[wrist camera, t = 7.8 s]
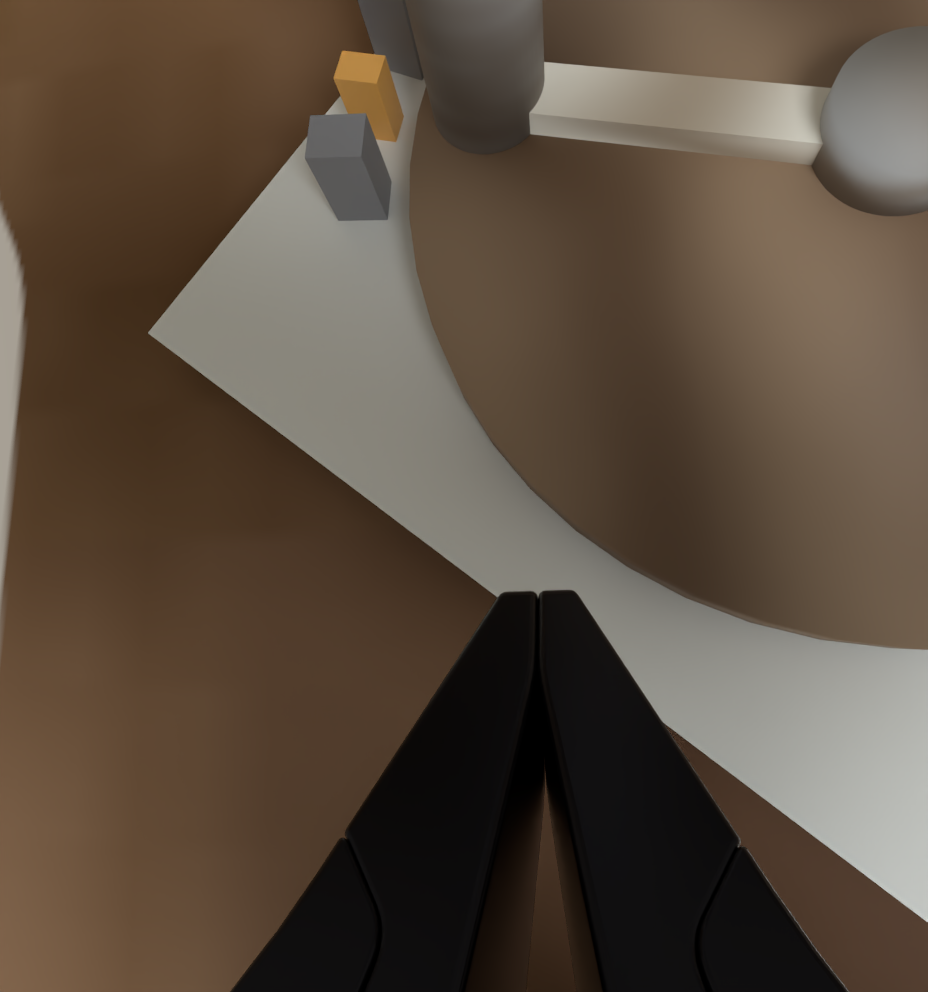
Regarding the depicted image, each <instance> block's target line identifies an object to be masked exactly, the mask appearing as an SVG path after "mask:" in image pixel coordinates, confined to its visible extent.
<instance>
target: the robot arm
mask: <svg viewBox="0 0 928 992" xmlns="http://www.w3.org/2000/svg"><path fill="white" fill-rule="evenodd" d="M545 772H546V785H547V794H548V803H549V811H550V817H551V824H552V831H553V838H554V844H555V851H556V858H557V864H558V871H559V878H560V884H561V891H562V898H563V904H564V911H565V918H566V924H567V931H568V938H569V945H570V951H571V958H572V965H573V971H574V978H575V985H576V991H577V992H849V991H848V989H847V988H846V987H845V986H844V984H843V983H842V982H841V980H840V979H839V978H838V977H837V975H836V974H835V973H834V971H833V970H832V969H831V968H830V966H829V965H828V964H827V962H826V961H825V960H824V959H823V957H822V956H821V955H820V953H819V952H818V951H817V949H816V948H815V946H814V945H813V944H812V942H811V941H810V939H809V938H808V936H807V935H806V934H805V932H804V931H803V929H802V928H801V927H800V925H799V924H798V922H797V921H796V919H795V918H794V917H793V915H792V914H791V912H790V911H789V910H788V908H787V907H786V905H785V904H784V902H783V901H782V900H781V898H780V897H779V895H778V894H777V892H776V891H775V890H774V888H773V887H772V885H771V884H770V882H769V881H768V879H767V878H766V876H765V875H764V873H763V872H762V870H761V869H760V867H759V866H758V864H757V863H756V861H755V860H754V858H753V857H752V855H751V854H750V852H749V851H748V849H747V848H745V847H740V843H741V840H740V838H739V836H738V835H737V833H736V832H735V830H734V829H733V827H732V826H731V824H730V823H729V821H728V820H727V818H726V817H725V815H724V814H723V812H722V811H721V809H720V808H719V806H718V805H717V803H716V802H715V800H714V799H713V797H712V796H711V794H710V793H709V791H708V790H707V788H706V787H705V785H704V784H703V782H702V780H701V779H700V777H699V776H698V774H697V773H696V771H695V770H694V768H693V767H692V765H691V764H690V762H689V761H688V759H687V758H686V756H685V755H684V753H683V752H682V750H681V749H680V747H679V746H678V744H677V743H676V741H675V740H674V738H673V737H672V735H671V734H670V732H669V731H668V729H667V728H666V726H665V725H664V723H663V722H662V720H661V719H660V717H659V716H658V714H657V713H656V711H655V710H654V708H653V707H652V705H651V704H650V702H649V701H648V699H647V698H646V696H645V695H644V693H643V692H642V690H641V689H640V687H639V686H638V684H637V683H636V681H635V680H634V678H633V677H632V675H631V674H630V672H629V671H628V669H627V668H626V666H625V665H624V663H623V661H622V660H621V658H620V657H619V655H618V654H617V652H616V651H615V649H614V648H613V646H612V645H611V643H610V642H609V640H608V639H607V637H606V636H605V634H604V633H603V631H602V630H601V628H600V627H599V625H598V624H597V622H596V621H595V619H594V618H593V616H592V615H591V613H590V612H589V610H588V609H587V607H586V606H585V604H584V603H583V601H582V600H581V598H580V597H579V595H578V594H577V593H576V592H575V591H573V590H545V591H542V592H540V594H539V596H537V594H536V593H535V592H534V591H506V592H503V593H501V594H500V595H499V596H498V598H497V599H496V601H495V602H494V604H493V605H492V607H491V608H490V610H489V611H488V613H487V614H486V616H485V617H484V619H483V620H482V622H481V624H480V625H479V627H478V628H477V630H476V631H475V633H474V634H473V636H472V637H471V639H470V640H469V642H468V643H467V645H466V647H465V648H464V650H463V651H462V653H461V654H460V656H459V657H458V659H457V660H456V662H455V663H454V665H453V666H452V668H451V669H450V671H449V673H448V674H447V676H446V677H445V679H444V680H443V682H442V683H441V685H440V686H439V688H438V689H437V691H436V692H435V694H434V695H433V697H432V699H431V700H430V702H429V703H428V705H427V706H426V708H425V709H424V711H423V712H422V714H421V715H420V717H419V718H418V720H417V721H416V723H415V725H414V726H413V728H412V729H411V731H410V732H409V734H408V735H407V737H406V738H405V740H404V741H403V743H402V744H401V746H400V748H399V749H398V751H397V752H396V754H395V755H394V757H393V758H392V760H391V761H390V763H389V764H388V766H387V767H386V769H385V770H384V772H383V774H382V775H381V777H380V778H379V780H378V781H377V783H376V784H375V786H374V787H373V789H372V790H371V792H370V793H369V795H368V796H367V798H366V800H365V801H364V803H363V804H362V806H361V807H360V809H359V810H358V812H357V813H356V815H355V816H354V818H353V819H352V821H351V823H350V824H349V826H348V827H347V829H346V830H345V836H346V839H345V838H341V839H339V840H338V842H337V843H336V845H335V846H334V848H333V849H332V851H331V852H330V854H329V856H328V857H327V859H326V860H325V862H324V863H323V865H322V866H321V868H320V869H319V871H318V872H317V874H316V876H315V877H314V878H313V880H312V881H311V883H310V884H309V886H308V887H307V889H306V890H305V891H304V893H303V894H302V896H301V897H300V899H299V900H298V901H297V903H296V904H295V906H294V907H293V909H292V910H291V912H290V913H289V914H288V916H287V917H286V919H285V920H284V922H283V923H282V925H281V926H280V927H279V929H278V930H277V932H276V933H275V934H274V936H273V937H272V938H271V939H270V941H269V942H268V943H267V945H266V946H265V947H264V948H263V950H262V951H261V952H260V954H259V955H258V956H257V958H256V959H255V960H254V961H253V963H252V964H251V965H250V967H249V968H248V969H247V971H246V972H245V973H244V974H243V976H242V977H241V978H240V980H239V981H238V982H237V983H236V985H235V986H234V987H233V989H232V990H231V991H230V992H526V984H527V974H528V964H529V953H530V943H531V932H532V922H533V912H534V901H535V891H536V880H537V870H538V860H539V849H540V839H541V829H542V818H543V807H544V792H545Z"/></svg>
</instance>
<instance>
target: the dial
mask: <svg viewBox="0 0 928 992" xmlns="http://www.w3.org/2000/svg"><path fill="white" fill-rule="evenodd" d="M405 3H406V7H407V11H408V15H409V19H410V23H411V27H412V31H413V35H414V39H415V43H416V47H417V51H418V55H419V59H420V63H421V67H422V72H423V76H424V80H425V84H426V88H425V91H424V95H423V98H422V101H421V105H420V108H419V111H418V116H417V122H416V129H415V135H414V142H413V148H412V155H411V161H410V200H409V219H410V227H411V234H412V241H413V249H414V256H415V264H416V271H417V275H418V278H419V282H420V285H421V289H422V292H423V296H424V299H425V303H426V306H427V310H428V313H429V317H430V320H431V324H432V326H433V329H434V331H435V334H436V336H437V338H438V341H439V343H440V345H441V348H442V350H443V352H444V355H445V357H446V359H447V361H448V364H449V366H450V368H451V370H452V372H453V375H454V377H455V379H456V381H457V384H458V386H459V388H460V390H461V393H462V395H463V397H464V399H465V400H466V402H467V403H468V405H469V407H470V408H471V410H472V411H473V413H474V415H475V416H476V418H477V419H478V421H479V423H480V424H481V426H482V427H483V429H484V431H485V432H486V434H487V435H488V437H489V439H490V440H491V442H492V443H493V445H494V446H495V447H496V448H497V450H498V451H499V452H500V453H501V454H502V456H503V457H504V458H505V459H506V460H507V462H508V463H509V464H510V465H511V466H512V468H513V469H514V470H515V471H516V472H517V474H518V475H519V476H520V477H521V478H522V480H523V481H524V482H525V483H526V484H527V486H528V487H529V488H530V489H531V490H532V491H533V492H534V493H535V494H536V495H537V496H538V497H540V498H541V499H542V500H543V501H544V502H545V503H546V504H547V505H548V506H549V507H550V508H552V509H553V510H554V511H555V512H556V513H557V514H558V515H559V516H560V517H561V518H562V519H564V520H565V521H566V522H567V523H568V524H569V525H570V526H571V527H572V528H573V529H574V530H576V531H577V532H578V533H580V534H581V535H583V536H584V537H586V538H587V539H588V540H590V541H591V542H593V543H594V544H595V545H597V546H598V547H600V548H601V549H603V550H604V551H605V552H607V553H608V554H610V555H611V556H612V557H614V558H615V559H617V560H618V561H620V562H621V563H622V564H624V565H625V566H627V567H628V568H630V569H632V570H634V571H636V572H638V573H640V574H642V575H643V576H645V577H647V578H649V579H651V580H653V581H655V582H657V583H659V584H660V585H662V586H664V587H666V588H668V589H670V590H672V591H674V592H675V593H677V594H679V595H681V596H683V597H685V598H687V599H690V600H692V601H695V602H698V603H700V604H703V605H706V606H708V607H711V608H713V609H716V610H719V611H721V612H724V613H727V614H729V615H732V616H734V617H737V618H740V619H742V620H745V621H747V622H750V623H754V624H758V625H762V626H766V627H770V628H774V629H779V630H783V631H787V632H791V633H795V634H799V635H803V636H807V637H811V638H815V639H819V640H828V641H836V642H844V643H853V644H861V645H869V646H878V647H886V648H899V649H920V650H928V0H405Z"/></svg>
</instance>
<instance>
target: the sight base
mask: <svg viewBox="0 0 928 992" xmlns="http://www.w3.org/2000/svg"><path fill="white" fill-rule="evenodd" d="M358 3H359V6H360V10H361V13H362V16H363V19H364V22H365V25H366V28H367V31H368V34H369V38H370V41H371V44H372V47H373V50H374V53H375V54H367V53H359V52H350V51H342V53H341V56H340V59H339V63H338V66H337V69H336V72H335V75H334V78H333V79H334V81H335V84H336V86H337V88H338V91H339V93H340V97H339V98H338V99H337V100H336V102H335V103H334V104H333V105H332V107H331V108H330V109H329V110H328V111H327V113H326V114H325V115H310V121H309V128H308V136H307V137H306V139H305V140H304V141H303V142H302V144H301V145H300V146H299V147H298V148H297V150H296V151H295V152H294V153H293V155H292V156H291V157H290V158H289V160H288V161H287V162H286V163H285V165H284V166H283V167H282V168H281V169H280V171H279V172H278V173H277V174H276V176H275V177H274V178H273V179H272V181H271V182H270V183H269V184H268V185H267V187H266V188H265V189H264V190H263V192H262V193H261V194H260V195H259V197H258V198H257V199H256V200H255V201H254V203H253V204H252V205H251V206H250V208H249V209H248V210H247V211H246V213H245V214H244V215H243V216H242V218H241V219H240V220H239V221H238V222H237V224H236V225H235V226H234V227H233V229H232V230H231V231H230V232H229V234H228V235H227V236H226V237H225V238H224V240H223V241H222V242H221V243H220V245H219V246H218V247H217V248H216V250H215V251H214V252H213V253H212V254H211V256H210V257H209V258H208V259H207V261H206V262H205V263H204V264H203V266H202V267H201V268H200V269H199V271H198V272H197V273H196V274H195V275H194V277H193V278H192V279H191V280H190V282H189V283H188V284H187V285H186V287H185V288H184V289H183V290H182V291H181V293H180V294H179V295H178V296H177V298H176V299H175V300H174V301H173V303H172V304H171V305H170V306H169V308H168V309H167V310H166V311H165V312H164V314H163V315H162V316H161V317H160V319H159V320H158V321H157V322H156V324H155V325H154V326H153V327H152V328H151V330H150V331H149V332H148V334H150V335H151V336H152V337H154V338H155V339H156V340H158V341H159V342H160V343H162V344H163V345H164V346H166V347H167V348H168V349H170V350H171V351H172V352H173V353H175V354H176V355H177V356H179V357H180V358H181V359H183V360H184V361H185V362H187V363H188V364H189V365H191V366H192V367H193V368H195V369H196V370H197V371H199V372H200V373H201V374H203V375H204V376H205V377H207V378H208V379H209V380H211V381H212V382H213V383H215V384H216V385H217V386H218V387H220V388H221V389H222V390H224V391H225V392H226V393H228V394H229V395H230V396H232V397H233V398H234V399H236V400H237V401H238V402H240V403H241V404H242V405H244V406H245V407H246V408H248V409H249V410H250V411H252V412H253V413H254V414H256V415H257V416H258V417H260V418H261V419H262V420H263V421H265V422H266V423H267V424H269V425H270V426H271V427H273V428H274V429H275V430H277V431H278V432H279V433H281V434H282V435H283V436H285V437H286V438H287V439H289V440H290V441H291V442H293V443H294V444H295V445H297V446H298V447H299V448H301V449H302V450H303V451H305V452H306V453H307V454H308V455H310V456H311V457H312V458H314V459H315V460H316V461H318V462H319V463H320V464H322V465H323V466H324V467H326V468H327V469H328V470H330V471H331V472H332V473H334V474H335V475H336V476H338V477H339V478H340V479H342V480H343V481H344V482H346V483H347V484H348V485H349V486H351V487H352V488H353V489H355V490H356V491H357V492H359V493H360V494H361V495H363V496H364V497H365V498H367V499H368V500H369V501H371V502H372V503H373V504H375V505H376V506H377V507H379V508H380V509H381V510H383V511H384V512H385V513H387V514H388V515H389V516H391V517H392V518H393V519H394V520H396V521H397V522H398V523H400V524H401V525H402V526H404V527H405V528H406V529H408V530H409V531H410V532H412V533H413V534H414V535H416V536H417V537H418V538H420V539H421V540H422V541H424V542H425V543H426V544H428V545H429V546H430V547H432V548H433V549H434V550H436V551H437V552H438V553H439V554H441V555H442V556H443V557H445V558H446V559H447V560H449V561H450V562H451V563H453V564H454V565H455V566H457V567H458V568H459V569H461V570H462V571H463V572H465V573H466V574H467V575H469V576H470V577H471V578H473V579H474V580H475V581H477V582H478V583H479V584H481V585H482V586H483V587H484V588H486V589H487V590H488V591H490V592H491V593H492V594H494V595H495V596H496V597H498V596H499V595H500V594H501V593H503V592H506V591H534V592H535V593H536V594H537V596H539V594H540V592H542V591H545V590H573V591H575V592H576V593H577V594H578V595H579V597H580V598H581V600H582V601H583V603H584V604H585V606H586V607H587V609H588V610H589V612H590V613H591V615H592V616H593V618H594V619H595V621H596V622H597V624H598V625H599V627H600V628H601V630H602V631H603V633H604V634H605V636H606V637H607V639H608V640H609V642H610V643H611V645H612V646H613V648H614V649H615V651H616V652H617V654H618V655H619V657H620V658H621V660H622V661H623V663H624V665H625V666H626V668H627V669H628V671H629V672H630V674H631V675H632V677H633V678H634V680H635V681H636V683H637V684H638V686H639V687H640V689H641V690H642V692H643V693H644V695H645V696H646V698H647V699H648V701H649V702H650V704H651V705H652V707H653V708H654V710H655V711H656V713H657V714H658V716H659V717H660V719H661V720H662V722H663V723H664V724H666V725H667V726H668V727H670V728H671V729H672V730H674V731H675V732H676V733H678V734H679V735H680V736H682V737H683V738H684V739H686V740H687V741H688V742H690V743H691V744H692V745H694V746H695V747H696V748H698V749H699V750H700V751H702V752H703V753H704V754H705V755H707V756H708V757H709V758H711V759H712V760H713V761H715V762H716V763H717V764H719V765H720V766H721V767H723V768H724V769H725V770H727V771H728V772H729V773H731V774H732V775H733V776H735V777H736V778H737V779H739V780H740V781H741V782H743V783H744V784H745V785H746V786H748V787H749V788H750V789H752V790H753V791H754V792H756V793H757V794H758V795H760V796H761V797H762V798H764V799H765V800H766V801H768V802H769V803H770V804H772V805H773V806H774V807H776V808H777V809H778V810H780V811H781V812H782V813H784V814H785V815H786V816H788V817H789V818H790V819H791V820H793V821H794V822H795V823H797V824H798V825H799V826H801V827H802V828H803V829H805V830H806V831H807V832H809V833H810V834H811V835H813V836H814V837H815V838H817V839H818V840H819V841H821V842H822V843H823V844H825V845H826V846H827V847H829V848H830V849H831V850H833V851H834V852H835V853H836V854H838V855H839V856H840V857H842V858H843V859H844V860H846V861H847V862H848V863H850V864H851V865H852V866H854V867H855V868H856V869H858V870H859V871H860V872H862V873H863V874H864V875H866V876H867V877H868V878H870V879H871V880H872V881H874V882H875V883H876V884H878V885H879V886H880V887H881V888H883V889H884V890H885V891H887V892H888V893H889V894H891V895H892V896H893V897H895V898H896V899H897V900H899V901H900V902H901V903H903V904H904V905H905V906H907V907H908V908H909V909H911V910H912V911H913V912H915V913H916V914H917V915H919V916H920V917H921V918H922V919H924V920H925V921H926V922H928V650H920V649H899V648H886V647H878V646H869V645H861V644H853V643H844V642H836V641H828V640H819V639H815V638H811V637H807V636H803V635H799V634H795V633H791V632H787V631H783V630H779V629H774V628H770V627H766V626H762V625H758V624H754V623H750V622H747V621H745V620H742V619H740V618H737V617H734V616H732V615H729V614H727V613H724V612H721V611H719V610H716V609H713V608H711V607H708V606H706V605H703V604H700V603H698V602H695V601H692V600H690V599H687V598H685V597H683V596H681V595H679V594H677V593H675V592H674V591H672V590H670V589H668V588H666V587H664V586H662V585H660V584H659V583H657V582H655V581H653V580H651V579H649V578H647V577H645V576H643V575H642V574H640V573H638V572H636V571H634V570H632V569H630V568H628V567H627V566H625V565H624V564H622V563H621V562H620V561H618V560H617V559H615V558H614V557H612V556H611V555H610V554H608V553H607V552H605V551H604V550H603V549H601V548H600V547H598V546H597V545H595V544H594V543H593V542H591V541H590V540H588V539H587V538H586V537H584V536H583V535H581V534H580V533H578V532H577V531H576V530H574V529H573V528H572V527H571V526H570V525H569V524H568V523H567V522H566V521H565V520H564V519H562V518H561V517H560V516H559V515H558V514H557V513H556V512H555V511H554V510H553V509H552V508H550V507H549V506H548V505H547V504H546V503H545V502H544V501H543V500H542V499H541V498H540V497H538V496H537V495H536V494H535V493H534V492H533V491H532V490H531V489H530V488H529V487H528V486H527V484H526V483H525V482H524V481H523V480H522V478H521V477H520V476H519V475H518V474H517V472H516V471H515V470H514V469H513V468H512V466H511V465H510V464H509V463H508V462H507V460H506V459H505V458H504V457H503V456H502V454H501V453H500V452H499V451H498V450H497V448H496V447H495V446H494V445H493V443H492V442H491V440H490V439H489V437H488V435H487V434H486V432H485V431H484V429H483V427H482V426H481V424H480V423H479V421H478V419H477V418H476V416H475V415H474V413H473V411H472V410H471V408H470V407H469V405H468V403H467V402H466V400H465V399H464V397H463V395H462V393H461V390H460V388H459V386H458V384H457V381H456V379H455V377H454V375H453V372H452V370H451V368H450V366H449V364H448V361H447V359H446V357H445V355H444V352H443V350H442V348H441V345H440V343H439V341H438V338H437V336H436V334H435V331H434V329H433V326H432V324H431V320H430V317H429V313H428V310H427V306H426V303H425V299H424V296H423V292H422V289H421V285H420V282H419V278H418V275H417V271H416V264H415V256H414V249H413V241H412V234H411V227H410V219H409V200H410V161H411V155H412V148H413V142H414V135H415V129H416V122H417V116H418V111H419V108H420V105H421V101H422V98H423V95H424V91H425V88H426V84H425V80H424V76H423V72H422V67H421V63H420V59H419V55H418V51H417V47H416V43H415V39H414V35H413V31H412V27H411V23H410V19H409V15H408V11H407V7H406V3H405V0H358Z"/></svg>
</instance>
